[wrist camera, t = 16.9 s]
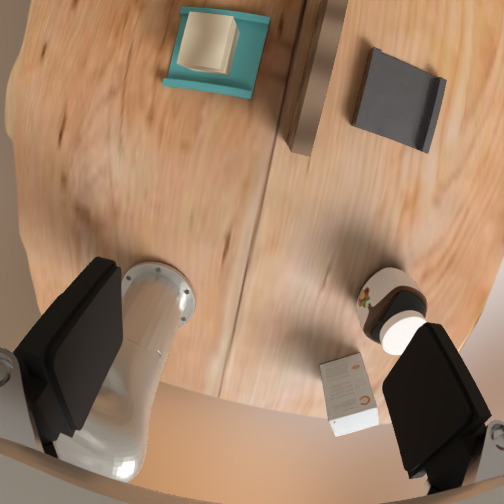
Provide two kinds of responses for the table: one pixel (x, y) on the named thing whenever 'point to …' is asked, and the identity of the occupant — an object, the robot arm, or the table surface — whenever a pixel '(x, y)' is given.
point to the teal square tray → (242, 64)
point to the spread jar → (391, 309)
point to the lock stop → (209, 43)
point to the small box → (348, 395)
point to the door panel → (316, 76)
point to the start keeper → (399, 101)
